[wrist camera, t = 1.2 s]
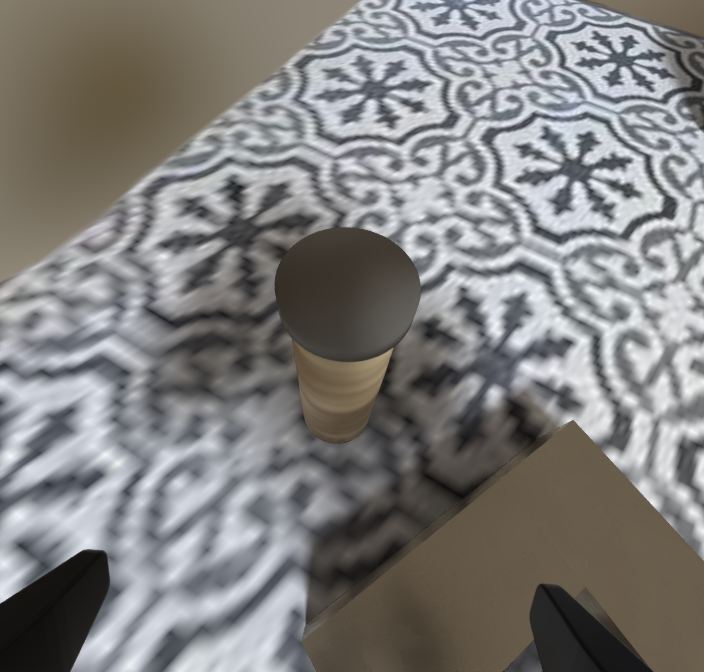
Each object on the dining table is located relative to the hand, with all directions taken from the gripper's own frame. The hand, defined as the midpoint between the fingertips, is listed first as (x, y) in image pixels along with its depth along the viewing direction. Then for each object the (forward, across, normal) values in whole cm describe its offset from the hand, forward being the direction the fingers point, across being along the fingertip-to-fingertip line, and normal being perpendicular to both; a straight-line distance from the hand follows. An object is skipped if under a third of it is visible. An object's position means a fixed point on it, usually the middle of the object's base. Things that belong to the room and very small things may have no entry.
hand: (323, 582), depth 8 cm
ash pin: (+15, 0, +4) cm, 16 cm away
